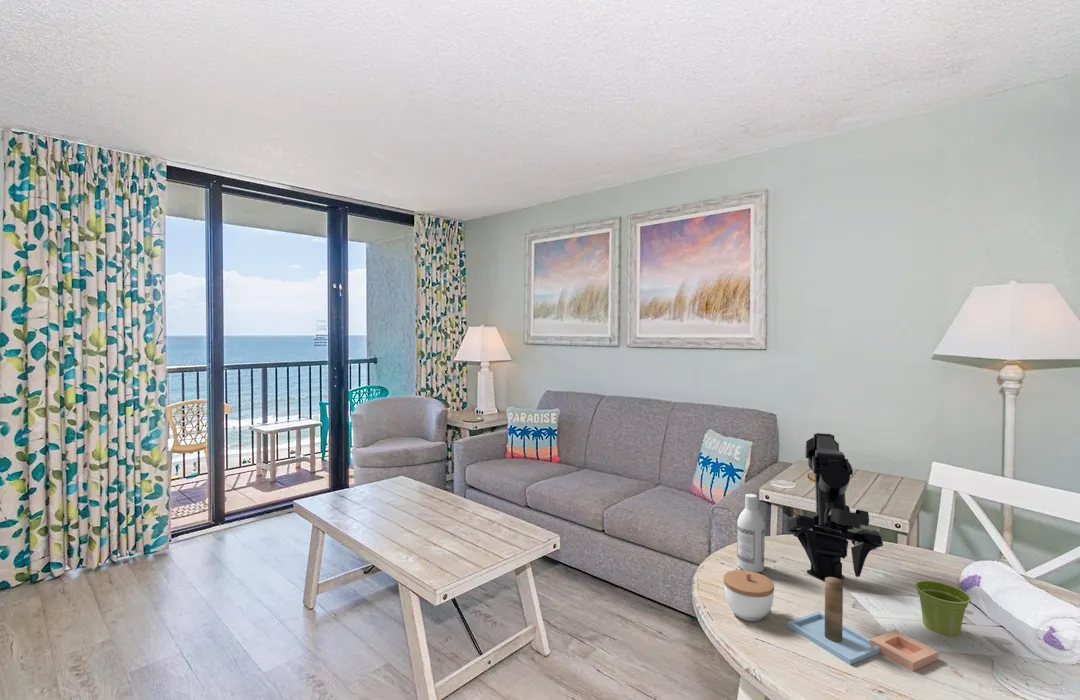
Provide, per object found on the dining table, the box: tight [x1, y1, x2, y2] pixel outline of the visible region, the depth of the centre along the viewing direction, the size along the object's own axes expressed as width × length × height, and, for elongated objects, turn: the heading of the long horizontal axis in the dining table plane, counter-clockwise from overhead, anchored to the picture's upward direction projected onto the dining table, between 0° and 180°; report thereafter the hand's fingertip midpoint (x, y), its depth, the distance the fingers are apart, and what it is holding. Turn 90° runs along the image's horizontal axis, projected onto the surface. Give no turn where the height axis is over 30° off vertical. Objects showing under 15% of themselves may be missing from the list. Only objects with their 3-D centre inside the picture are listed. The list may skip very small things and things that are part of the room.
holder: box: [869, 629, 939, 672], centre depth 99 cm, size 8×8×2 cm
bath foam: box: [736, 493, 766, 573], centre depth 137 cm, size 7×7×20 cm
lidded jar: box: [723, 569, 775, 622], centre depth 114 cm, size 11×11×9 cm
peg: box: [824, 577, 844, 642], centre depth 104 cm, size 3×3×12 cm
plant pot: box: [914, 579, 972, 637], centre depth 108 cm, size 9×9×9 cm
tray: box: [786, 611, 881, 666], centre depth 104 cm, size 14×10×2 cm
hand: (835, 571), depth 112 cm, fingers open, 9 cm apart
